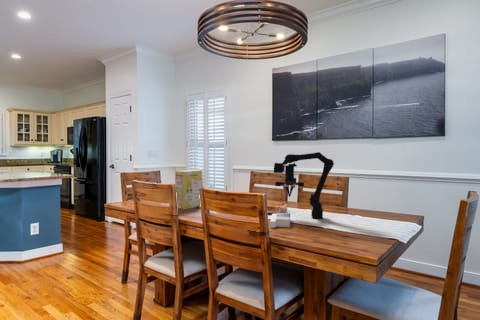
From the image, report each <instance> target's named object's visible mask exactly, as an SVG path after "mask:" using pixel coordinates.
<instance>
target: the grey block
mask: <svg viewBox="0 0 480 320" xmlns="http://www.w3.org/2000/svg"><path fill="white" fill-rule="evenodd" d="M276 227H280V228H282V227H283V228H290V227H291V216H290V217H284V216H276ZM276 227H275V228H276Z"/></svg>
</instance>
